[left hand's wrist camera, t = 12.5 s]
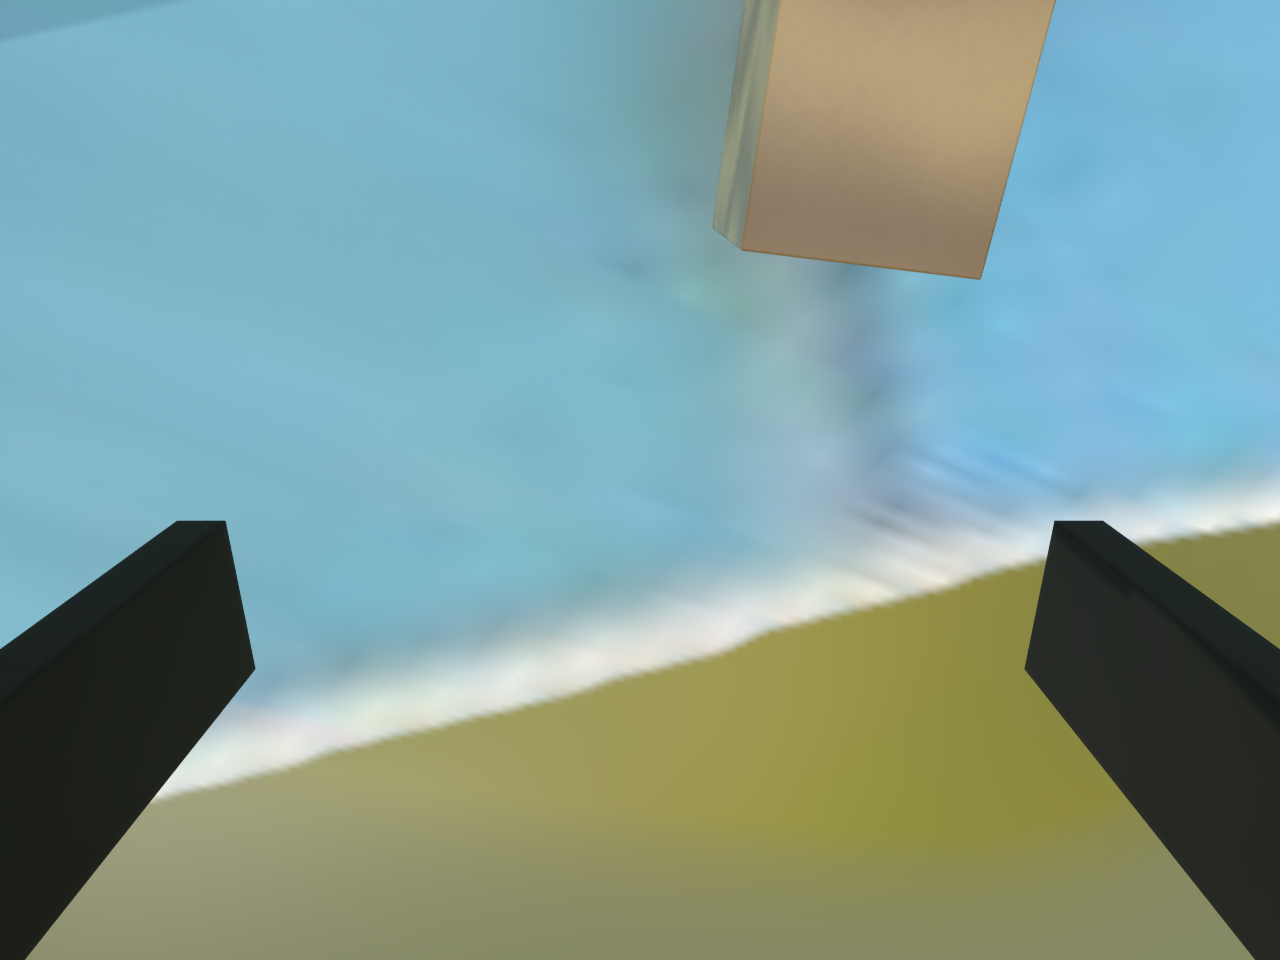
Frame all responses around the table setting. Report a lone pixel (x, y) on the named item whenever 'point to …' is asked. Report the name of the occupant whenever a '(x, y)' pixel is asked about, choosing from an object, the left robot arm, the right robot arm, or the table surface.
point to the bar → (877, 128)
